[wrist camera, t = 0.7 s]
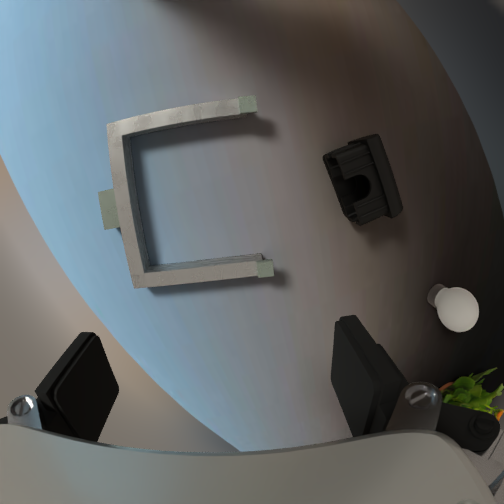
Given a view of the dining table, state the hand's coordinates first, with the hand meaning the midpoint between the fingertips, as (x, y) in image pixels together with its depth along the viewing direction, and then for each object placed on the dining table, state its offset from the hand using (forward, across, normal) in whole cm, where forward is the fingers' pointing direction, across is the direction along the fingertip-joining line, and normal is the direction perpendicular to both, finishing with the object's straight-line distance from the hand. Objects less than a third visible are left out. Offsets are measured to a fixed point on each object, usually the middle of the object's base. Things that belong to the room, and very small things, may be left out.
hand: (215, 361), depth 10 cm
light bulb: (+29, -34, +15) cm, 47 cm away
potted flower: (+29, -45, +44) cm, 69 cm away
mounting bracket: (+29, +6, -4) cm, 30 cm away
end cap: (+29, -17, -5) cm, 34 cm away
